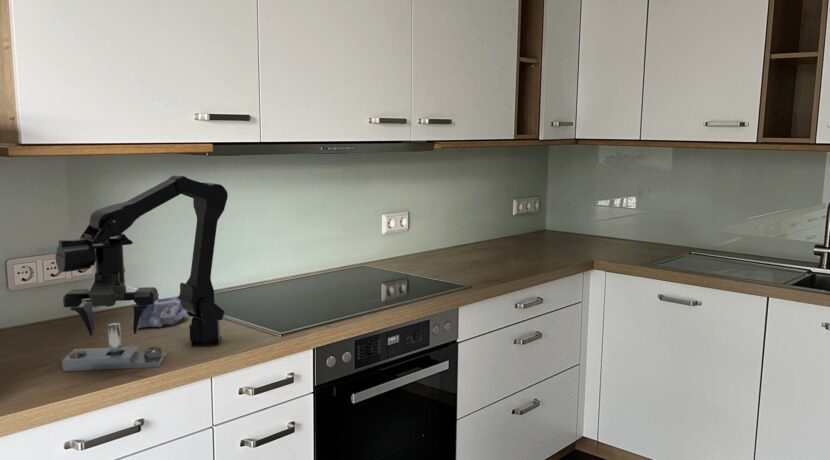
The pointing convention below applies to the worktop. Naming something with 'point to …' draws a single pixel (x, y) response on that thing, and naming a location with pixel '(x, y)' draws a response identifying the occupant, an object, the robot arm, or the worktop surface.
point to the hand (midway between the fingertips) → (113, 334)
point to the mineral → (162, 313)
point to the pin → (114, 339)
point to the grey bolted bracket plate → (112, 359)
